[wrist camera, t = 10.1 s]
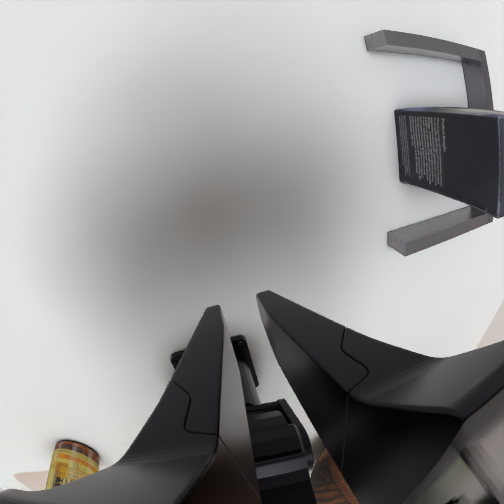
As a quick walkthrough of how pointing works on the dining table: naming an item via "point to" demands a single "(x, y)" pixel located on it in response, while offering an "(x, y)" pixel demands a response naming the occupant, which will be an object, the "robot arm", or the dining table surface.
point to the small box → (454, 154)
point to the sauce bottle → (71, 463)
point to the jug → (330, 482)
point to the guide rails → (478, 97)
